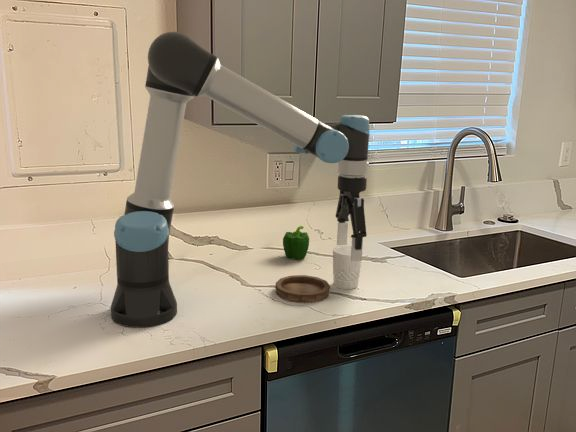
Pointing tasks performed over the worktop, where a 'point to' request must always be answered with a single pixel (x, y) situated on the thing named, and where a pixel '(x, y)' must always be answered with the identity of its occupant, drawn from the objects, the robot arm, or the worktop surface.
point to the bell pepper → (296, 244)
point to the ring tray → (302, 289)
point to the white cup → (345, 268)
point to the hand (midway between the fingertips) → (348, 252)
